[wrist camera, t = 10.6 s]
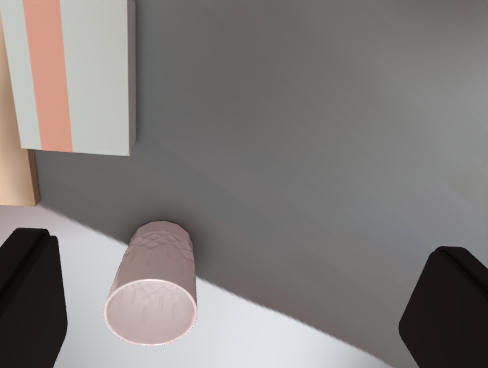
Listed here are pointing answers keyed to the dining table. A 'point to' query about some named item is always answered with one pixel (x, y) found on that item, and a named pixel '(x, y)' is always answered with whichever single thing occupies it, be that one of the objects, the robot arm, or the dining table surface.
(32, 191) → the wooden board
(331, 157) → the dining table surface
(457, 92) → the dining table surface
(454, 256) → the robot arm
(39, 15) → the carton
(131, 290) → the pink cup
